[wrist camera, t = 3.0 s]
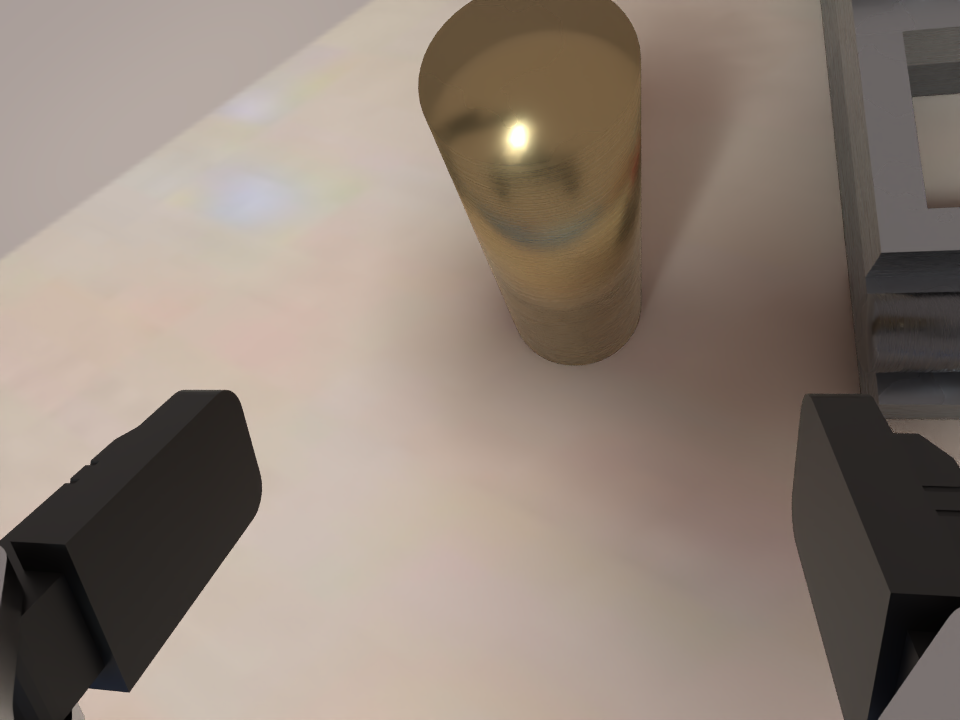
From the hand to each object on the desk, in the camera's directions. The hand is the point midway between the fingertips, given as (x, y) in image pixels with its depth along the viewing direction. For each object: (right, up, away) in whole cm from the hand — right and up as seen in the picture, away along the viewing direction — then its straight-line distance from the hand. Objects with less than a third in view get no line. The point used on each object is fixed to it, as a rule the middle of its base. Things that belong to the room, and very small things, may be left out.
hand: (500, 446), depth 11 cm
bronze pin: (+3, +3, +13) cm, 14 cm away
